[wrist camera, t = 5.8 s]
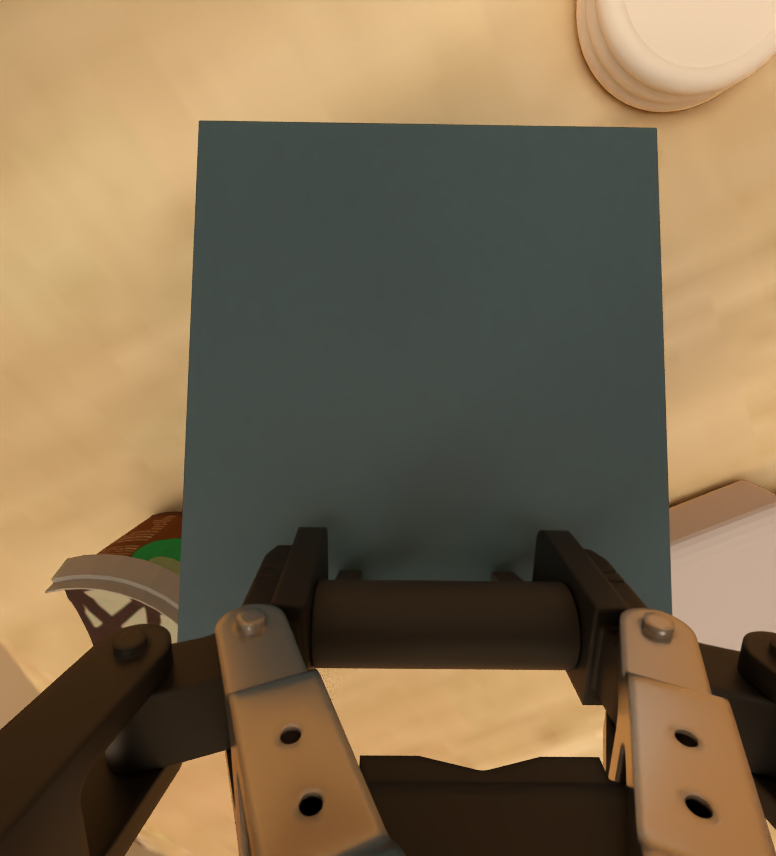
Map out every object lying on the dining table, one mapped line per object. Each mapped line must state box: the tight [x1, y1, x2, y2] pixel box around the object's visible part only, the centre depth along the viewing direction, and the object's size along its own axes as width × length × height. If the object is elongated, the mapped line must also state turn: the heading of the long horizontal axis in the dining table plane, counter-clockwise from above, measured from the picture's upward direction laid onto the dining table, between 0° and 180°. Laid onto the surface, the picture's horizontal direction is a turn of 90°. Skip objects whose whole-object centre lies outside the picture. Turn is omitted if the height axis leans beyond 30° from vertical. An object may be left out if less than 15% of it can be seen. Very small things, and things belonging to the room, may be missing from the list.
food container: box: [45, 512, 183, 646], centre depth 29 cm, size 12×6×10 cm, turn 17°
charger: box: [669, 480, 776, 651], centre depth 31 cm, size 5×9×15 cm
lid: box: [177, 121, 672, 670], centre depth 13 cm, size 16×15×6 cm
